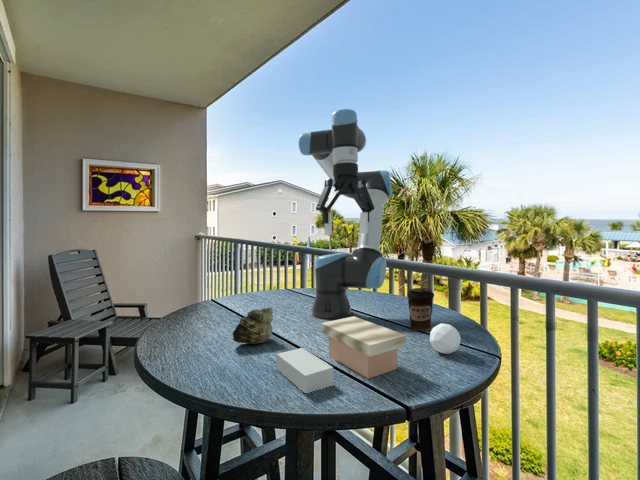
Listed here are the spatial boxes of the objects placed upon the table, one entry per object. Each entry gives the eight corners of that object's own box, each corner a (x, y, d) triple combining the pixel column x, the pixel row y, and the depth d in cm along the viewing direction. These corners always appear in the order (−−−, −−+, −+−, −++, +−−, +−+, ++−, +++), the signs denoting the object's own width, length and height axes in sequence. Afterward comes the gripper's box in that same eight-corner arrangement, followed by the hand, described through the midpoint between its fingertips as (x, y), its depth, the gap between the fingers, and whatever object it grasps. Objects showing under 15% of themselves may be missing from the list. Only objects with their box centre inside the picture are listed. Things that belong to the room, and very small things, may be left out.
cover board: (321, 332, 90) (321, 323, 89) (353, 324, 95) (353, 316, 95) (370, 356, 73) (369, 345, 72) (406, 345, 78) (406, 335, 78)
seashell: (238, 337, 106) (236, 306, 105) (274, 335, 107) (273, 304, 106) (232, 349, 95) (230, 315, 95) (272, 347, 96) (271, 313, 96)
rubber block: (277, 370, 81) (276, 354, 81) (302, 363, 84) (302, 347, 84) (305, 394, 69) (305, 375, 69) (333, 385, 73) (333, 367, 72)
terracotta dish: (329, 355, 89) (328, 333, 88) (355, 348, 93) (355, 327, 93) (368, 378, 75) (367, 352, 75) (397, 368, 80) (396, 344, 80)
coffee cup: (436, 333, 104) (435, 292, 103) (408, 332, 105) (408, 291, 105) (432, 325, 112) (432, 286, 111) (407, 324, 114) (406, 286, 113)
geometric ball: (453, 364, 88) (467, 346, 83) (423, 352, 89) (435, 334, 84) (453, 341, 94) (466, 324, 89) (425, 331, 95) (436, 313, 90)
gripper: (316, 158, 91) (318, 236, 92) (384, 164, 104) (386, 232, 105) (303, 162, 97) (305, 235, 98) (369, 168, 110) (370, 232, 112)
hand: (347, 234), depth 102 cm, fingers open, 13 cm apart
